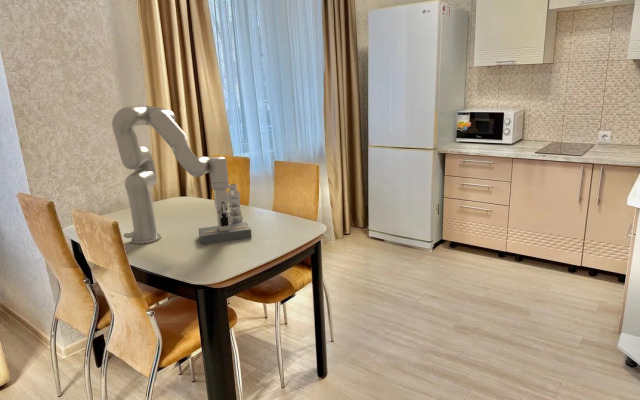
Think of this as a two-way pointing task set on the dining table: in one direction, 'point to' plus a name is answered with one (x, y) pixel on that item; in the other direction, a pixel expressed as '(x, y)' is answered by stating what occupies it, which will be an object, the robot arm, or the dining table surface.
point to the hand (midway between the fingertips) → (223, 223)
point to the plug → (220, 228)
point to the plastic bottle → (234, 204)
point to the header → (224, 233)
